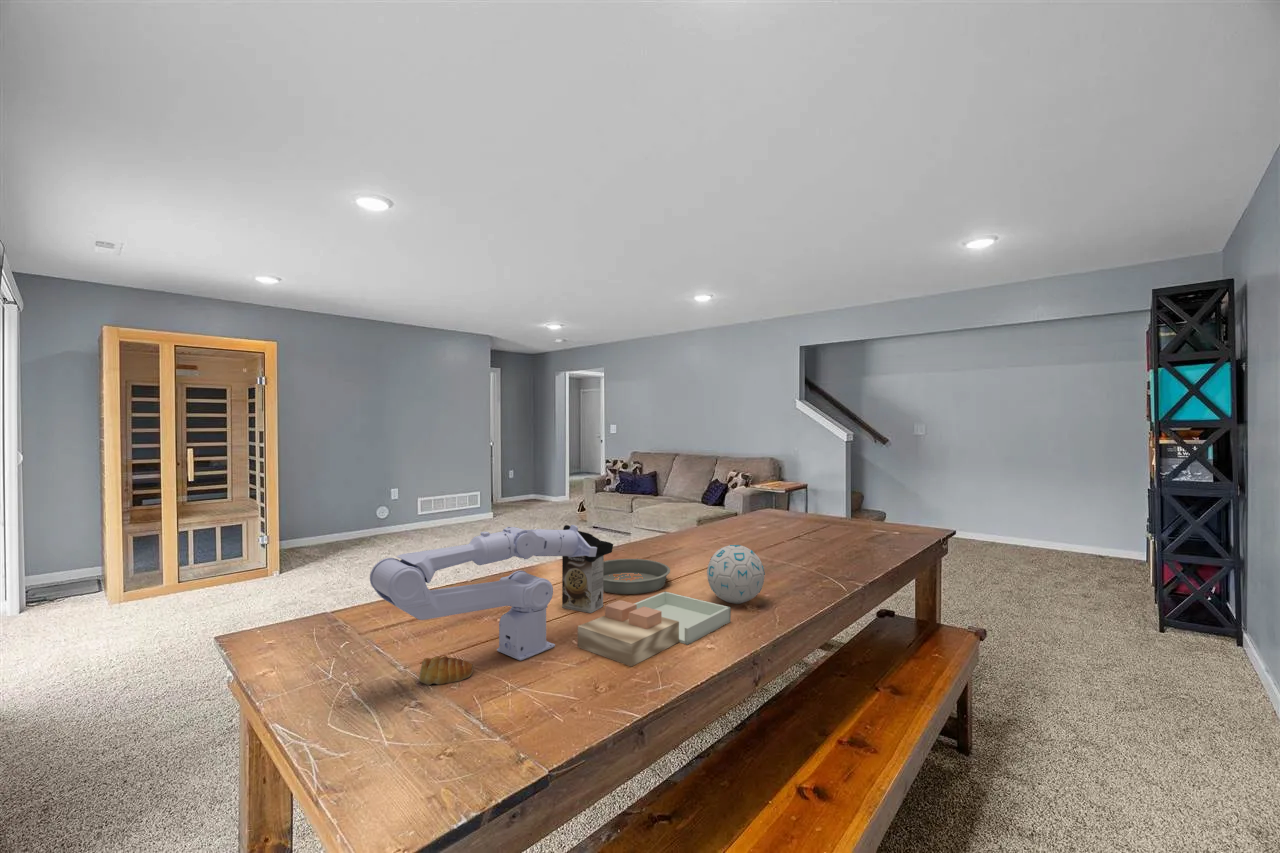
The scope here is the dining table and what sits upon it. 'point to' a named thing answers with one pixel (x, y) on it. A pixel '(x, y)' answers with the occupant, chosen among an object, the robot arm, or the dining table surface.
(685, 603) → the tray
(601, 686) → the dining table surface
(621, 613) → the tile far
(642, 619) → the tile near
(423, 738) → the dining table surface
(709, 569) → the puzzle ball
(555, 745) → the dining table surface
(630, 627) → the block
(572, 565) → the coffee box
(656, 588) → the cake pan
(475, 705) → the dining table surface
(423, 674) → the pastry
